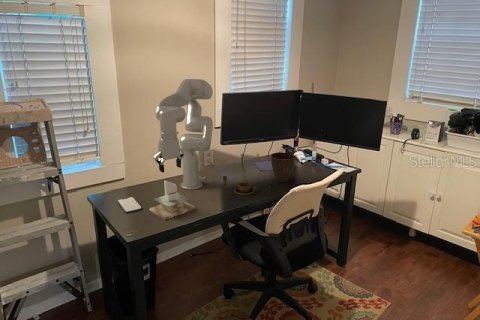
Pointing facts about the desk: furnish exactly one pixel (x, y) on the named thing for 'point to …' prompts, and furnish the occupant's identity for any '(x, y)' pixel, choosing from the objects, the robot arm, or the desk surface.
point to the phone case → (129, 205)
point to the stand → (171, 207)
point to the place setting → (242, 187)
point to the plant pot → (282, 165)
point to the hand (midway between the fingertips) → (170, 169)
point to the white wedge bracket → (170, 191)
